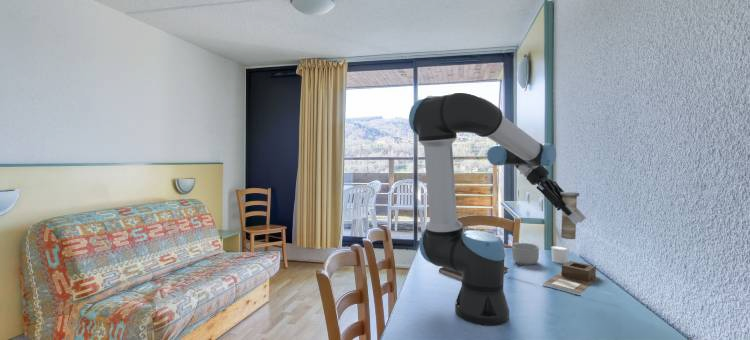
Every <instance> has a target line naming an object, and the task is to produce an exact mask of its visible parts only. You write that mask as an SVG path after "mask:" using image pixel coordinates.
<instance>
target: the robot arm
mask: <svg viewBox="0 0 750 340" xmlns="http://www.w3.org/2000/svg"><path fill="white" fill-rule="evenodd" d="M408 122H409V128H410V129H411V130H412V132H413V133H415V134H416V135H418V136H417V137H418V138H417V139H418V142H419V144H421V145H422V146H423V151H424V163H425V175H426V176H425V177H426V189H427V190H426V191H427V200H428V201H427V203H428V215H429V216H428V217H429V221H428V222H427V223H426V224H425V228H424V230H423V231H422V232H421V237H420V238H419V242H418V245H419V251H420V254H421V256H422V258H423V259H424V260H425V261H426V262H428V263H430V264H432V265H434V266H436V267H440V268H443V267H444V268H447V269H450V270H453V271H457V272H460V273H462V280H461V287H460V289H459V292H458V294H457V297H456V300H455V303H454V313H455V314H456V315H457V316H458V317H459V318H460V319H462V320H464V321H466V322H467V323H470V324H475V325H480V326H489V327H491V326H501V325H504V324H505V323H508V321H509V319H510V307H509V305H508V301H507V299H506V295H505V291H504V284H505V283H504V281H505V280H504V277H505V273H504V267H505V258H506V253H505V244H504V241H503V239H501V238H500V237H499V236H497V235H495V234H493V233H490V232H486V231H481V230H465V231H464V226H463V223H462V222H461V221H460V220H458V213H457V212H458V211H457V198H456V196H457V195H456V182H455V181H456V180H455V168H454V153H453V152H454V151H453V144H454V142H456V140H457V139H458V138H457V136H458V135H457V133H463V134H464V133H470V134H475V135H476V136H478V137H480V138H486V137H487V138H488V139H489V140H491V141H493V142H494V143H496V144H495V145H492V146H491V147H489V149H488V150H487V153H486V154H487V155H486V157H487V160H488V162H489V163H490V164H491V165H493V166H514V167H515V169H517V170H518V171H519V174H520V175H523V176H524V177H525V179H526V180H527V181H528V182H529V183H530V184H531V186H536V189H537V190H539V193H541V194H542V195H543V196H544V197H545V198H546V199H547V200H548V201H549V202H550V203H551V204H552V205H553V207H554V208H555V209H556V210H557V211H561V212H562V211H563V213H564V214H565V215H566V216H567V217H568V218H569V219H570V220H571V221H572V222H573V223H574V224H576V225H577V224H578V223H582V222H583V221H584V220H586V219H587V217H586V216H585V215H584V213H583V212H582V211H581V210H580V209H578V206H576V213H575V212H574V211H573V210H572V209H571V208H570V207H569V206H568V205H566V204H565V203H564V202H563V200H562V198H563V196H561V195H560V192H565V191H564V189H563V188H562V187H560V185H559V184H558V183H557V181H553V180H552V179H549V178H548V176H549V174H550V172H549V170H548V169H547V168H546V167H549V166H550V167H551V166H552V165H554V164H555V162H556V159H557V150H556V147H555V146H554V144H552V143H541V142H539V141H537V140H536V139H535V138H533V137H532V136H531V135H530V134H528V133H527V132H525V131H524V130H523V129H521V128H520V127H519V126H518V125H516V124H515V123H513V122H512V121H510V119H508V118H507V117H506V116H504V115H503V112H502V110H501V109H500V108H499V107H498V106H497V105H495V104H494V103H493V102H491V101H489V100H487V99H485V98H483V97H482V96H480V95H476V94H474V93H471V92H467V91H454V92H448V93H440V94H433V95H428V96H425V97H421V98H418V99H417V100H416V101H415V102H414V103H413V105H411V108H410V110H409V115H408ZM565 205H566V206H565Z"/></svg>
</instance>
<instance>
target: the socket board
mask: <svg viewBox="0 0 750 340" xmlns="http://www.w3.org/2000/svg"><path fill="white" fill-rule="evenodd" d="M596 272H597V266H596V265H593V264H587V263H584V262H578V261H573V260H569V261H567V263H563V264H562V265H561V272H559V273H558V274H556V275H555V276H552V277H551V278H550V279H548V280H546V281H544V282H543V283H542V284H543V285H542V287H544V288H548V289H552V290H554V291H559V292H562V293H566V294H570V295H574V296H576V297H581V296H582V295H581V293H582V292H584V291H585V290H587V289H588V288H589V287H590V286H591V285H593V284H594V283H595V282H597V281H598V280H600V279H601V277H600V276H597V275H596ZM576 293H577V294H576Z"/></svg>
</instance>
